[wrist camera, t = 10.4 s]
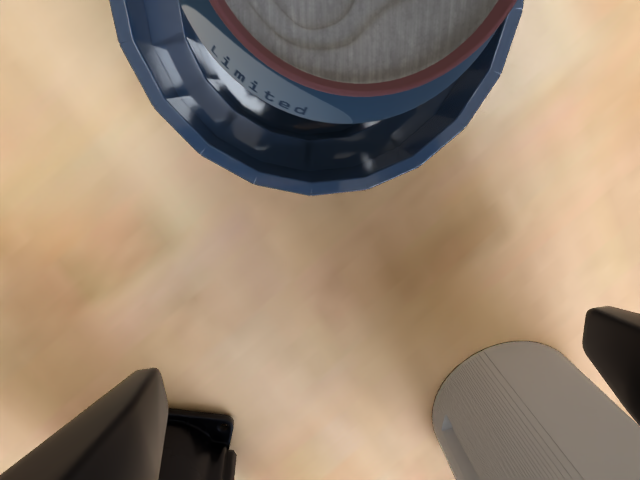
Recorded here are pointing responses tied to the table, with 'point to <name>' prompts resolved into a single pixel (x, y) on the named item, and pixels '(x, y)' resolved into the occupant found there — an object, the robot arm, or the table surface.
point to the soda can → (345, 50)
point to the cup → (531, 420)
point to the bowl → (282, 127)
